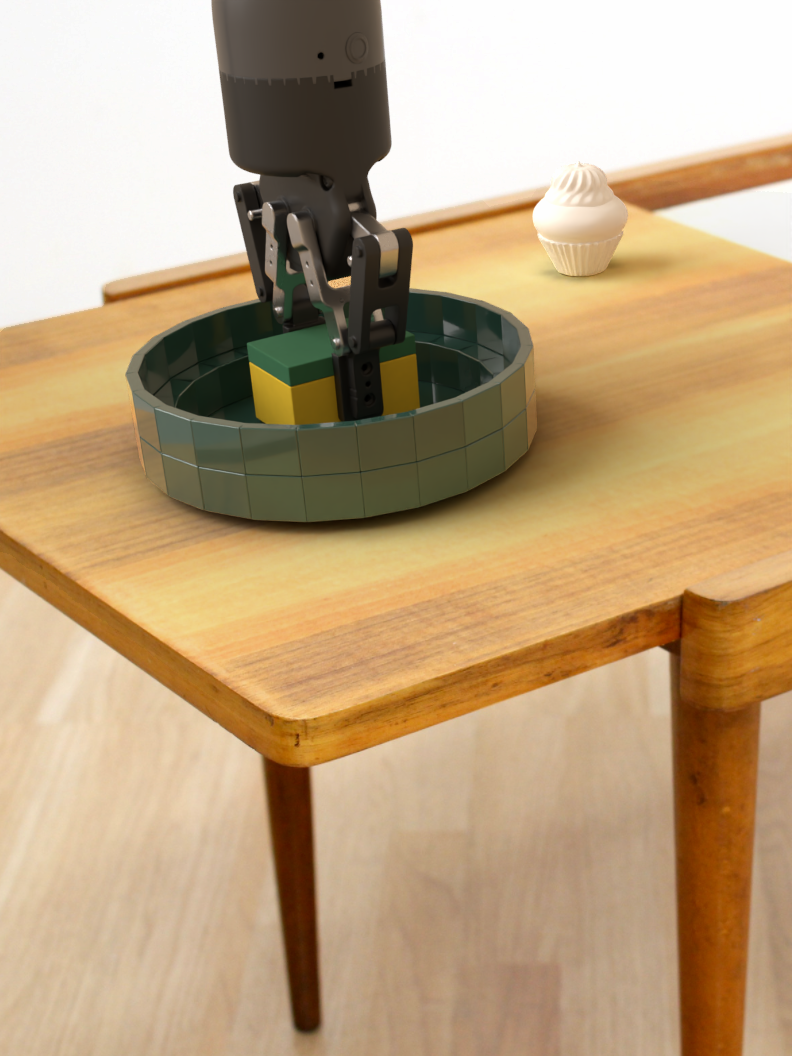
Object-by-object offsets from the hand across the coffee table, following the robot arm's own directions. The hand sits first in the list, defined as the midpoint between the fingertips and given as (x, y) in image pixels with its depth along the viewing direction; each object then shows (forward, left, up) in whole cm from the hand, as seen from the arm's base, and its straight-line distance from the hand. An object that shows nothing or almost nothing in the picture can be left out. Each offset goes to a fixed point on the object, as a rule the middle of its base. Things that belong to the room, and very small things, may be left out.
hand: (336, 404), depth 78 cm
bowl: (-1, -2, -1) cm, 3 cm away
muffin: (+25, +13, -2) cm, 28 cm away
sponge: (0, 0, -1) cm, 1 cm away
